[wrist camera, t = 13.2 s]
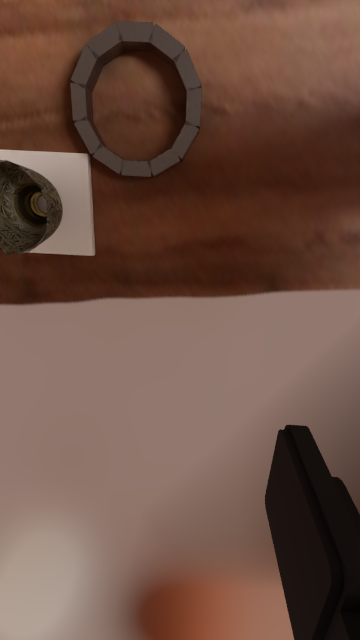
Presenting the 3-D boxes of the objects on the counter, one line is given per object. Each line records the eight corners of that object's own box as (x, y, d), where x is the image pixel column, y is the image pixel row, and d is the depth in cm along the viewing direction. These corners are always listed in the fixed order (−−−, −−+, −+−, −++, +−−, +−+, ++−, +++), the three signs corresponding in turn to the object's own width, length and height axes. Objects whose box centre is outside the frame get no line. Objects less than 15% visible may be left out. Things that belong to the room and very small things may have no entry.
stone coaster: (89, 154, 32) (87, 153, 31) (95, 254, 36) (93, 255, 35) (-9, 149, 32) (-14, 148, 32) (7, 249, 36) (3, 250, 35)
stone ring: (205, 35, 28) (206, 24, 26) (196, 179, 33) (196, 178, 31) (74, 30, 28) (65, 19, 27) (83, 173, 33) (76, 173, 31)
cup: (54, 254, 35) (17, 273, 28) (-4, 207, 34) (-60, 213, 26) (94, 201, 33) (64, 205, 26) (33, 147, 31) (-17, 135, 24)
